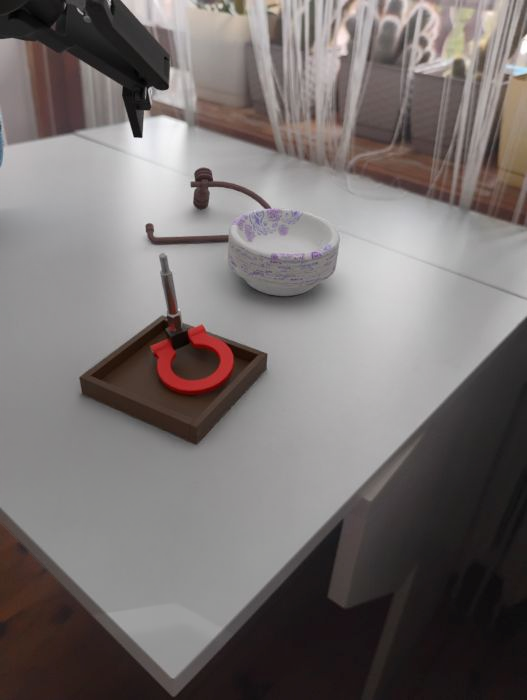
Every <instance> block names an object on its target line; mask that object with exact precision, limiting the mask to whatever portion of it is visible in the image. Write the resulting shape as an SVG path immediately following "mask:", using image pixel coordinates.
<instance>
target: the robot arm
mask: <svg viewBox="0 0 527 700" xmlns="http://www.w3.org/2000/svg"><path fill="white" fill-rule="evenodd" d="M54 25H55V28H52V27H53V26H54ZM7 39H15V40H20V41H25V42H39V43H41V44H43V46H46V47H47V48H49V49H50V50H52V51H54V52H55V53H58V54H62V53H64V52H67V53H68V54H70V55H72V56H74V57H75V58H76V59H78V60H80V61H81V62H83V63H84V64H86V65H88V66H89V67H91V68H93V69H94V70H95V71H97V72H99V73H101V74H102V75H104V76H106V77H107V78H109V79H110V80H112V81H113V82H115V83H116V84H119V85H120V86H122V89H121V90H122V91H121V97H122V100H123V104H124V108H125V112H126V115H127V118H128V119H127V120H128V122H129V126H130V130H131V133H132V136H133V139H134V138H137V139H143V138H144V137H143V135H144V121H145V120H144V119H145V118H144V117H145V111H147V112H148V111H151V109H152V104H153V88H154V89H155V90H157V91H161V92H163V91H168V90H169V89H170V81H171V62H172V61H171V59H172V57H171V54H170V53H169V52H167V50H166V49H165V48H164V47H163V46H162V44H161V43H160V42H159V41H158V40H157V39H156V38H155V37H154V36H153V34H152V33H151V32H150V31H149V30H148V29H147V28H146V26H145V25H144V24H143V23H142V22H141V21H140V20H139V19H138V17H136V16H135V14H134V13H133V12H132V11H131V10H130V9H129V8H128V6H126V5H125V3H124V2H123V0H0V40H7ZM152 87H153V88H152ZM2 128H3V125H2V115H1V113H0V168H2V164H3V160H4V133H3V130H2Z"/></svg>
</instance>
